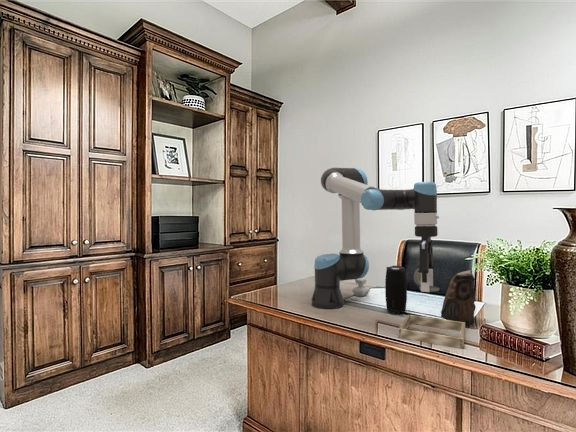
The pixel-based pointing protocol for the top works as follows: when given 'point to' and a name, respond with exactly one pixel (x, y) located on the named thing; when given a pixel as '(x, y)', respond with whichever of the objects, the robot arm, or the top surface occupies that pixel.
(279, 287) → the top surface
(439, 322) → the box
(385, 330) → the top surface
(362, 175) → the robot arm
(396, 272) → the portable speaker
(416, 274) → the pocket watch
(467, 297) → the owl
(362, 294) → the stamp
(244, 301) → the top surface
